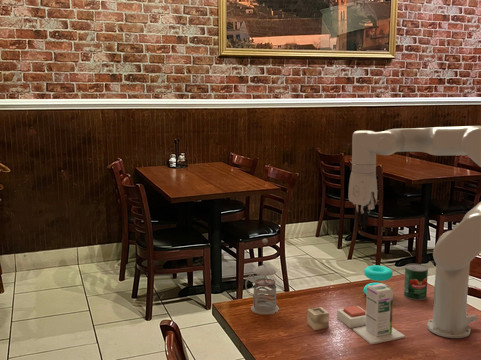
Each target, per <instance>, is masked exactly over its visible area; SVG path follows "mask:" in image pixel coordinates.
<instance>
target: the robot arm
mask: <svg viewBox="0 0 481 360" xmlns="http://www.w3.org/2000/svg"><path fill="white" fill-rule="evenodd" d="M351 137H352V143H351V144H352V146H351V149H352V150H351V172H350V176H349V182H348V194H347V195H348V196H347V197H348V201H349V202H351V203H352V204H353V206H355V210H356V213H357V216H356V217H357V219H356V221H357V222H356V223H357V225H359V226H366V225H369V214H370V212H371V210H375V209H376V208H375V206H376V204H377V203H378V183H377V155H381V156H390V155H393V154H396V153H401V152H404V153H405V152H407V153H408V152H419V153H420V152H421V153H426V154H428V155H432V156H467V157H468V158H470V159H471V161H473V162H474V163H475V164H476V165H477V166H478V167H480V168H481V125H464V126H457V125H456V126H434V127H431V126H430V127H416V128H415V127H414V128H409V127H408V128H392V129H391V128H389V129H386V130H384V131H383V130H382V131H374V130H368V129H367V130H366V129H365V130H364V129H362V130H356V131H354V132H353V133H352V136H351ZM480 254H481V201H480V202H478V203H477V204H476V205H475V206H474V207H472V208H471V209H470V210H469V211H467V212H466V214H464V216H463V218H462V220H461V221H460V222H459V223H458V224H457V225H456V226H455V227H454V228H453V229H452V230H447V231H446V232H444V233H442V234H441V235H440V236H439V237H438V239H437V242H436V244H435V245H434V248H433V250H432V256H433V260H434V263H435V276H434V291H433V292H434V293H433V309H432V318H430V319H429V320H428V321H427V323H426V324H427V325H426V327H427V329H428V331H430V332H431V333H433V334H434V335H437V336H440V337H443V338H448V339H463V338H466V337H468V336H470V334H471V327H470V326H469V324H471V323H472V322H477V321H478V316H477V315H476V314H471V315H468V313H467V307H468V305H467V303H468V290H469V278H470V267H471V266H470V265H471V262H472V261H473V260H474V259H475V258H476V257H477V256H478V255H480ZM470 322H471V323H470Z"/></svg>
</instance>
